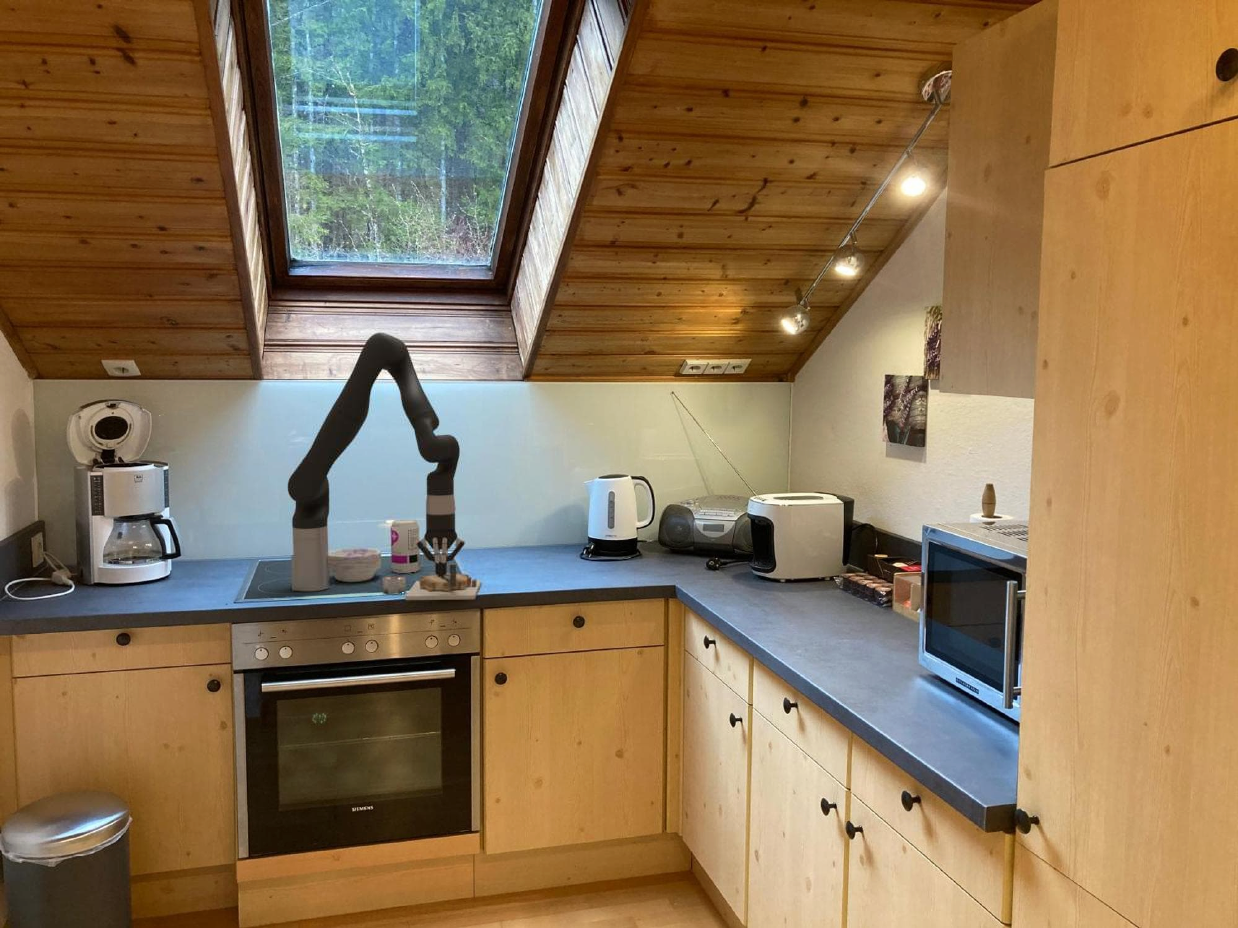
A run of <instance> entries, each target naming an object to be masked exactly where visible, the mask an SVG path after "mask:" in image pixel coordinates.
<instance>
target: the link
mask: <svg viewBox="0 0 1238 928" xmlns="http://www.w3.org/2000/svg"><path fill="white" fill-rule="evenodd" d="M406 589H407V588H406V577H405V576H397V575H395V576H394V575H393V576H384V577H382V593H383V594H384V593H385V595H388V594H389V595H391V594H392V593H393V594H394V593H401V594H403V593H402V592H405V593H406V591H407V590H406ZM390 593H391V594H390ZM393 594H392V595H393ZM394 595H395V594H394Z"/></svg>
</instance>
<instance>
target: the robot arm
mask: <svg viewBox="0 0 1238 928" xmlns="http://www.w3.org/2000/svg"><path fill="white" fill-rule="evenodd" d="M353 367H354V368H353V369H352V372H351V374H350V376H349V378H348V379H347V381H346V383H345V384H344V386H343V388H342V390H341V392H340V394H339V395H338V397H337V399H336V400H335V402H334V403H333V405H332V407H331V409H330V411H329V412H328V413H327V416H325V420H324V422H323V423H322V425H321V426H320V429H319V431H318V433H317V434H316V436H315V438H314V440H313V442H312V444H311V447H310V448H309V450H308V451H307V453H306V455H304V457H303V459H302V460H301V461H300V463H299V464H298V466H297V467H296V468H295V470H294V471H293V473H291V475H290V476H289V479H288V481H287V492H288V495H289V497H290V498H291V499H292V500H293V501H295V509H294V512H293V515H292V518H291V522H292V523H291V524H292V525H291V527H292V548H293V549H292V553H293V554H292V555H291V556H290V557H291V559H290V561H291V563H290V564H291V567H290V568H291V587H292V588H291V589H292V591H298V592H318V591H323V590H327V589H329V588H330V571H329V556H328V552H329V533H328V532H329V531H328V530H329V529H328V527H329V526H328V518H329V514H330V483H329V478H328V475H329V472H330V471H331V469H332V468H333V465H334V464H335V462H336V461H337V460H338V458H340V456H341V455H342V454H343V453H344V452H345V451H346V449H347V448H348V447H349V446H350V445H351V443H353V441H354V439H356V437H357V436H358V434H359V432H360V430H361V428H362V427H363V424H364V423H365V422H366V419H367V417H368V414H369V410H370V402H371V392H372V389H373V386H374V384H375V382H376V380H377V378H378V377H379V376H380V373H381V372H382V371H383V370H384V371H387V372H388V374H389V375H390V376H391V378H392V379H393V380H394V382H395V383H396V386H397V387H398V390H399V394H400V400H401V405H402V409H403V412H404V413H405V415H406V417H407V419H408V421H409V423H410V425H411V427H412V429H413V431H414V435H415V440H416V445H417V449H418V453H419V455H420V457H421V458H422V459H423V460H424V461H426V462H427V463H431V464H437V466H436V468H435V469H434V470H433V471H431V472H429V473H427V475H426V501H425V519H426V520H425V529H426V530H425V534H424V537H423V538H422V539H421V540H419V541H418V543H417V546H418V548H419V549H420V551H421V553H423V555H424V556H425V557H426V559H427V560H428V561H430V562H433V563H434V565H435V566H434V567H435V573H434V574H436V575H438V577H444V575H446V574H448V573H447V572H448V565H447V564H448V562H451V561H453V560H454V559H455V558H456V556H457V555H458V554H459V552H460V551H461V549H462V548H463V547H464V546H465V544H466V542H465V540H462V539H460V538H459V537H458V533H457V531H456V501H455V475H456V472H457V467H458V464H459V458H460V450H461V449H460V444H459V441H458V440H457V438H456V437H455V436H454V435H452V434H442V435H441V434H440V435H439V434H438V435H436V434H435V431H436V430H437V429H438V428H439V426H440V419H439V417H438V415H437V414H436V411H435V409H434V407H433V406H432V404H431V403H430V400H429V399H428V396H427V395H426V393H425V391H424V388H423V387H422V384H421V383H420V380H419V377H418V375H417V372H416V369H415V366H414V363H413V360H412V357H411V355H410V352H409V349H408V347H407V345H406V343H404V342H403V340H401V339H400V338H399V337H395V336H393V335H390V334H388V333H386V332H376V333H374V334H372V335H371V336H369V338H368V339H367V340H366V341H365V343H364V345H363V347H362V349H361V351H360V354H359V356H358V358H357V361H356V363H355V365H354V366H353ZM427 545H429V546H430V548H431V549H433V553H432V552H431V551H430V549H429V548H428V547H427ZM452 545H454V546H455V548H454V550H453V551H452V552H451V553H450V554H449V553H448V552H449V549H450V548H451V547H452ZM448 554H449V555H448Z"/></svg>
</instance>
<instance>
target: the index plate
mask: <svg viewBox="0 0 1238 928" xmlns="http://www.w3.org/2000/svg"><path fill="white" fill-rule="evenodd" d="M481 586H482V580H481V579H477V578H475V579H474V578H473V579H471V586H466V588H464V589H453V590H450V591H444V590H433V591H431V590H427V589H426V588H420V581H419V580H415V583H413V585H412V587H411V588H410V589H409V591H408V592H407V594H405V597H404V598H405V599H404V600H405V601H431V600H432V601H435V600H436V601H437V600H438V601H439V600H444V601H445V600H446V601H447V600H453V601H454V600H475V599H476V597H477V594H478V593H479V590H480V588H481Z"/></svg>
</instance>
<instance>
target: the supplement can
mask: <svg viewBox="0 0 1238 928" xmlns="http://www.w3.org/2000/svg"><path fill="white" fill-rule="evenodd" d="M418 541H420V525H419V523H418V521H417V520H415V519H397V520H393V521H392V523H391V525H390V554H391V556H390V557H391V558H390V559H391V571H392V572H393V573H394V572H398V573H397V574H399V573H409V574H411V573H410V572H415V573H417V572H419V570H420V569H421V558H420V557H421V556H420V555H421V554H420V553H421V552H420V551H421V550H420V549H419V548H418V546H417V543H418ZM416 571H417V572H416Z"/></svg>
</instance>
